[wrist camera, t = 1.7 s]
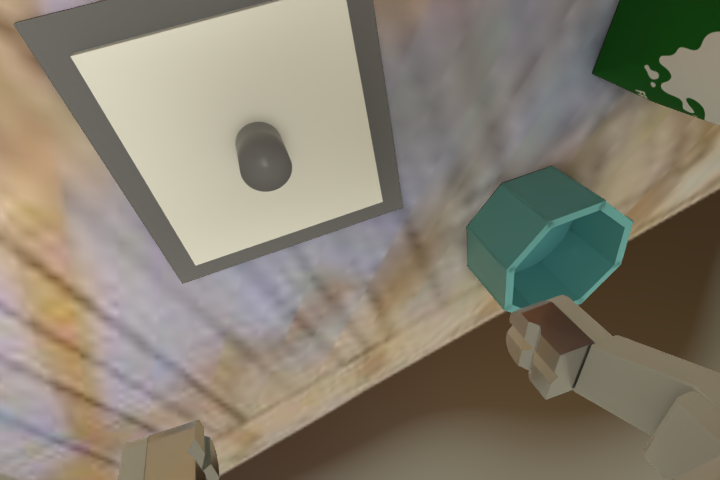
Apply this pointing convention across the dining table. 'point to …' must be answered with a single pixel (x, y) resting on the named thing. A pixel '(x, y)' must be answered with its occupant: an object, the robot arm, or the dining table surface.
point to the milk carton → (666, 54)
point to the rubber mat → (52, 51)
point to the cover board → (242, 121)
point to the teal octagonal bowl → (545, 240)
